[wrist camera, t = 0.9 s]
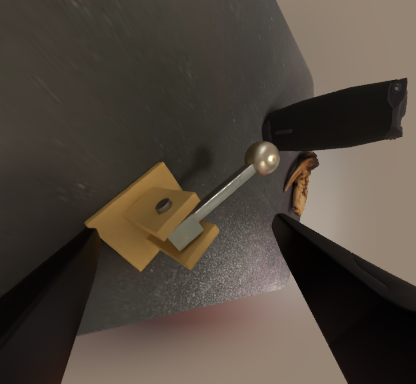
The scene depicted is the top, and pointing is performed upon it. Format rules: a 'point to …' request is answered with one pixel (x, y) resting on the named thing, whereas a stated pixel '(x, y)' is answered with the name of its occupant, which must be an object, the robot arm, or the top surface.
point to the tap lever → (226, 190)
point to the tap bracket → (151, 220)
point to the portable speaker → (340, 118)
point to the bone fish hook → (301, 180)
